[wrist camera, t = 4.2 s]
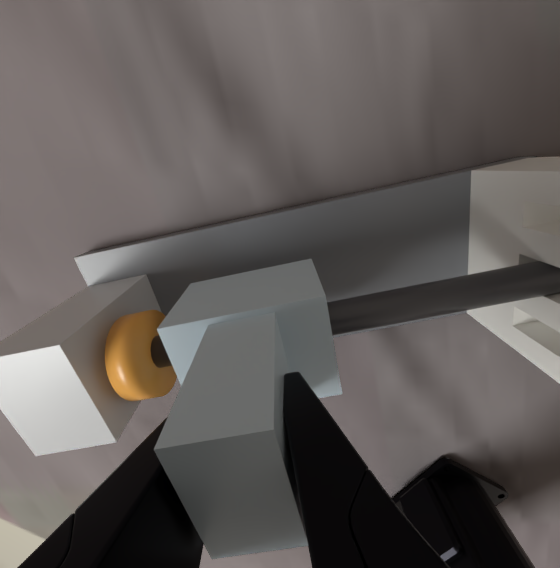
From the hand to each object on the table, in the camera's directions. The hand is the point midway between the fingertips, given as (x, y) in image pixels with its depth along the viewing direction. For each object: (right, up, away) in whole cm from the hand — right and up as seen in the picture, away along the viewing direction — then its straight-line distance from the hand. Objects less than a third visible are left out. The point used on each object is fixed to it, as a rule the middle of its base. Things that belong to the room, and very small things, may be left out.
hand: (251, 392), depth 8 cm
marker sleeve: (0, +2, +4) cm, 5 cm away
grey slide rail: (+2, +3, +7) cm, 8 cm away
